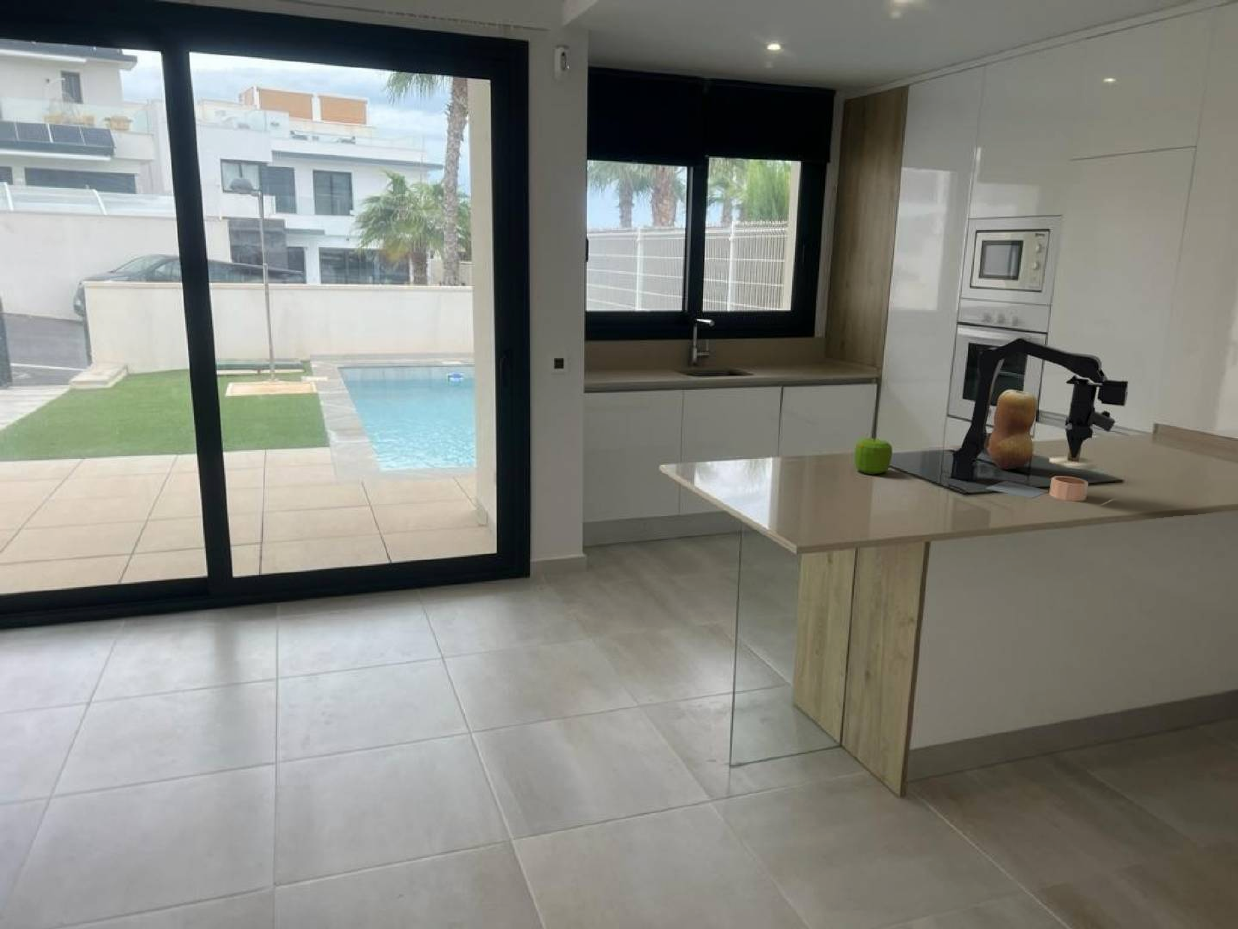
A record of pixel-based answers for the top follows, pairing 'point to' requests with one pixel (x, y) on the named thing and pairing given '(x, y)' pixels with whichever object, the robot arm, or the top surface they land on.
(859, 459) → the apple
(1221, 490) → the top surface
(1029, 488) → the mat
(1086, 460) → the lid
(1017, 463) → the butternut squash
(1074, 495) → the bowl
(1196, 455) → the top surface
